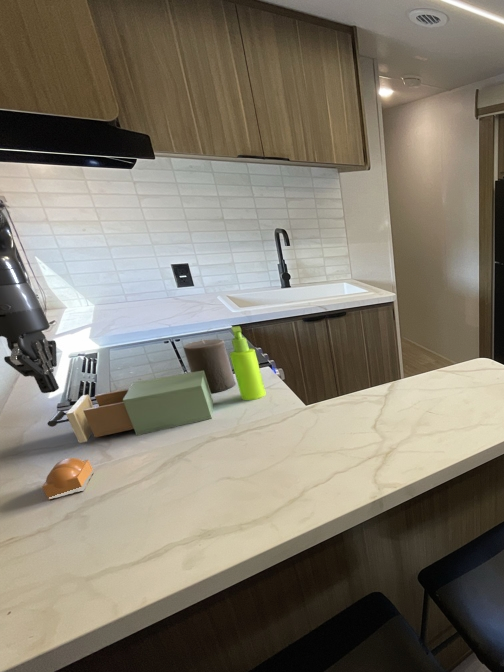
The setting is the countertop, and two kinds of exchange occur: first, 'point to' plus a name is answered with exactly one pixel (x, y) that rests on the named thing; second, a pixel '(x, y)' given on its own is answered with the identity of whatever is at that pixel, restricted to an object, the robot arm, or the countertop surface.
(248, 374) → the soap dispenser
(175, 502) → the countertop surface
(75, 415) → the drawer
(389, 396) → the countertop surface
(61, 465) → the orange domed block
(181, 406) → the cabinet
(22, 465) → the countertop surface
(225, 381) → the pillar candle
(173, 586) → the countertop surface
